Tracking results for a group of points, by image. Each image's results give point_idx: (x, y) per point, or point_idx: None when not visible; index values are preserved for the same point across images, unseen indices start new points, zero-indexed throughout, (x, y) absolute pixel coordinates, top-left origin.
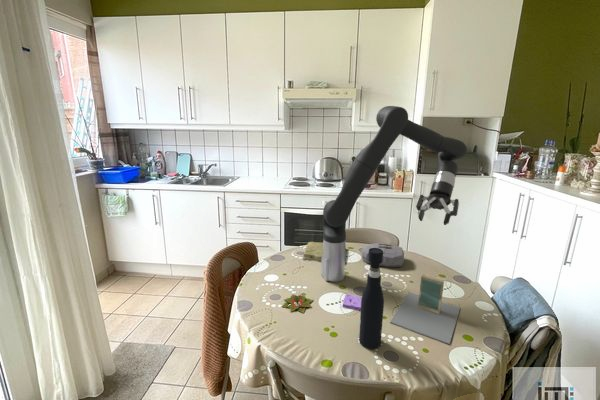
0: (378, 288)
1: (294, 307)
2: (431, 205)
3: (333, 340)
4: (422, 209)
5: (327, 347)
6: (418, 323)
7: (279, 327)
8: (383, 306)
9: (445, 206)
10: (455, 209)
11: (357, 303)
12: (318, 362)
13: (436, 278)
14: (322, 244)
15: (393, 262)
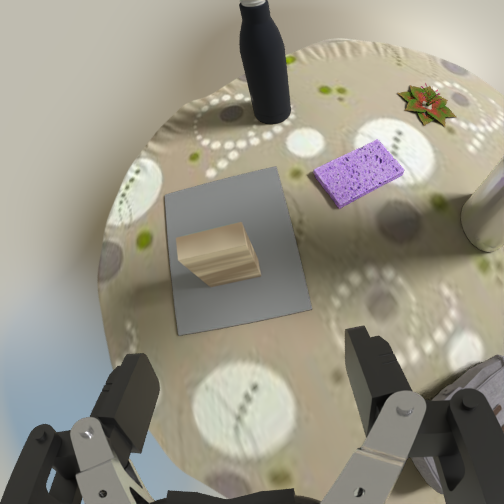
0: (242, 20)
1: (417, 93)
2: (304, 498)
3: (314, 82)
4: (390, 397)
5: (308, 72)
6: (229, 203)
7: (384, 61)
8: (242, 60)
9: (95, 475)
10: (28, 453)
11: (361, 161)
12: (296, 55)
13: (199, 247)
14: None
15: None
